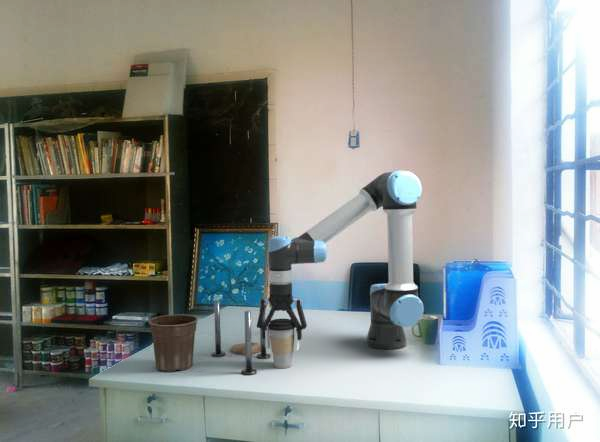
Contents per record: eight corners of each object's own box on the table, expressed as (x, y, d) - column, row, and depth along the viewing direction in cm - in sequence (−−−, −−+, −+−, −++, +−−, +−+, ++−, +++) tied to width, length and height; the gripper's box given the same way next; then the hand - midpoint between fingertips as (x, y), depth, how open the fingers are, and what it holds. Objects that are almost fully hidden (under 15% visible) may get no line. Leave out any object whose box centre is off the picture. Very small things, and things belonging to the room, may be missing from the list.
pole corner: (272, 355, 190) (270, 299, 189) (268, 359, 185) (267, 302, 184) (258, 354, 191) (257, 299, 190) (254, 358, 186) (253, 302, 185)
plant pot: (206, 360, 186) (205, 314, 185) (187, 375, 170) (186, 325, 170) (163, 358, 189) (162, 313, 189) (141, 373, 174) (139, 324, 173)
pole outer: (258, 370, 174) (257, 310, 173) (254, 375, 169) (252, 313, 168) (244, 369, 175) (242, 309, 174) (239, 374, 170) (237, 313, 169)
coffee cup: (293, 370, 173) (292, 324, 172) (265, 369, 174) (264, 324, 174) (299, 361, 182) (298, 318, 181) (272, 360, 184) (271, 317, 183)
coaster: (267, 346, 202) (267, 343, 202) (258, 355, 190) (258, 352, 190) (237, 344, 205) (237, 342, 204) (226, 353, 193) (226, 351, 193)
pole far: (227, 353, 194) (225, 298, 193) (222, 357, 189) (220, 301, 188) (214, 352, 195) (212, 298, 194) (209, 356, 190) (207, 301, 189)
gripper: (245, 284, 175) (247, 351, 177) (310, 284, 171) (312, 353, 172) (252, 280, 183) (254, 344, 184) (315, 281, 178) (316, 346, 179)
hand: (282, 348), depth 178 cm, fingers closed on coffee cup, 9 cm apart
